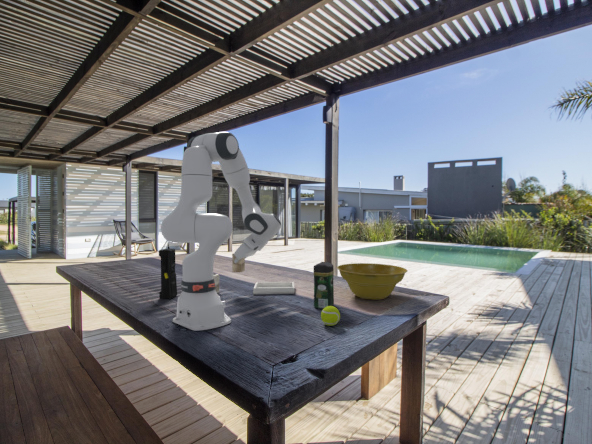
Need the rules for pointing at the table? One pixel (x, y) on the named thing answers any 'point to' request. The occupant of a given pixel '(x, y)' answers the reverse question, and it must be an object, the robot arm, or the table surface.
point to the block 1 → (216, 282)
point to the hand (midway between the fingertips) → (237, 261)
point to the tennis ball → (330, 315)
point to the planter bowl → (371, 279)
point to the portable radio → (168, 274)
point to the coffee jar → (323, 285)
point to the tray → (274, 288)
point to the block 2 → (238, 265)
